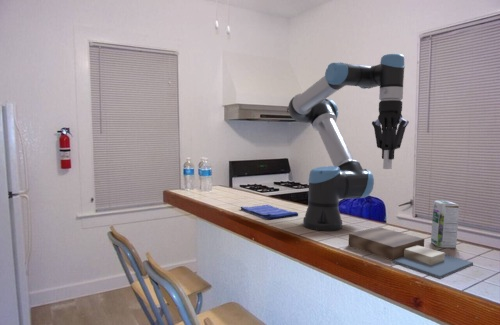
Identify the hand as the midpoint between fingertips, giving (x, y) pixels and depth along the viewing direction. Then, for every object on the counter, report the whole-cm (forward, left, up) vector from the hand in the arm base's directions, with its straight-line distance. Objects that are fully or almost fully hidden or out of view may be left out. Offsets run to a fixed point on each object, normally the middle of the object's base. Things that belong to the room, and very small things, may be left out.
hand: (387, 168), depth 119 cm
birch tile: (+20, -11, -24) cm, 33 cm away
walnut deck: (+8, -11, -24) cm, 28 cm away
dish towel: (-52, -12, -25) cm, 59 cm away
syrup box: (+16, +9, -25) cm, 31 cm away
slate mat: (+23, -11, -24) cm, 35 cm away
